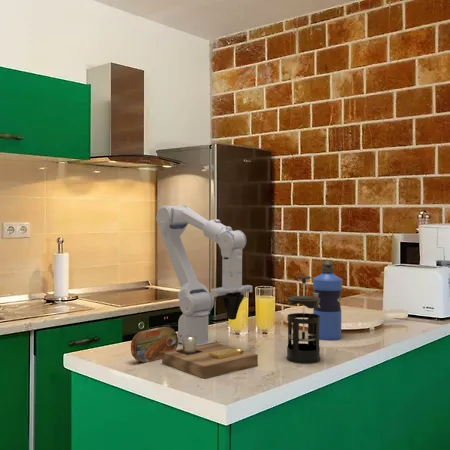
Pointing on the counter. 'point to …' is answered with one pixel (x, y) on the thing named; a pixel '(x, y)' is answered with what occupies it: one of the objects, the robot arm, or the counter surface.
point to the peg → (189, 344)
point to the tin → (153, 343)
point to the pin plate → (208, 361)
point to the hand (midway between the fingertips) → (231, 319)
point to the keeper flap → (225, 353)
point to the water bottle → (328, 302)
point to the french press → (300, 350)
